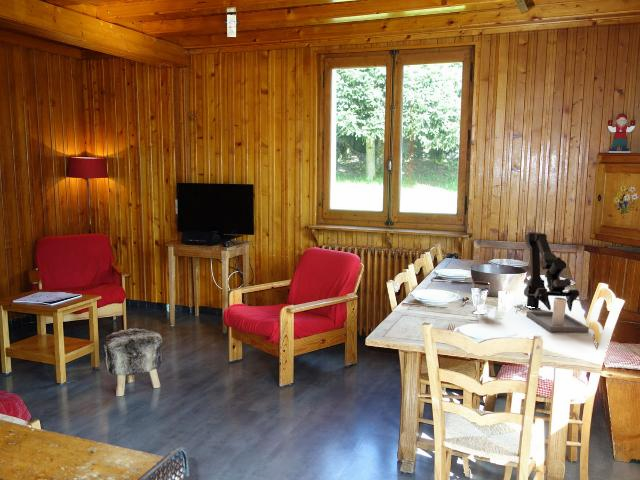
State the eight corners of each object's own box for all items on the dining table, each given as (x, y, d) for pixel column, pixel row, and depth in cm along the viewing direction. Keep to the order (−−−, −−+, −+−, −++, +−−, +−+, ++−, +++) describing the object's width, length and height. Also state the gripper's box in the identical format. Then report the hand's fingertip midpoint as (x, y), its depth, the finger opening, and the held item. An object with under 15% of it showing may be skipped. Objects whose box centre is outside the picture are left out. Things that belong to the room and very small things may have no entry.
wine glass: (486, 316, 276) (489, 285, 274) (469, 313, 279) (472, 283, 276) (488, 311, 283) (490, 282, 281) (471, 309, 286) (474, 280, 284)
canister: (549, 325, 262) (552, 298, 260) (556, 324, 264) (559, 297, 262) (558, 328, 258) (561, 301, 255) (565, 327, 260) (568, 299, 258)
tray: (526, 316, 278) (526, 311, 278) (561, 316, 280) (562, 311, 279) (549, 332, 255) (550, 327, 254) (588, 332, 256) (588, 327, 256)
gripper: (539, 270, 261) (545, 300, 252) (580, 272, 260) (588, 302, 251) (531, 283, 270) (537, 312, 261) (571, 285, 269) (578, 314, 260)
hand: (560, 310), depth 258 cm, fingers open, 9 cm apart
